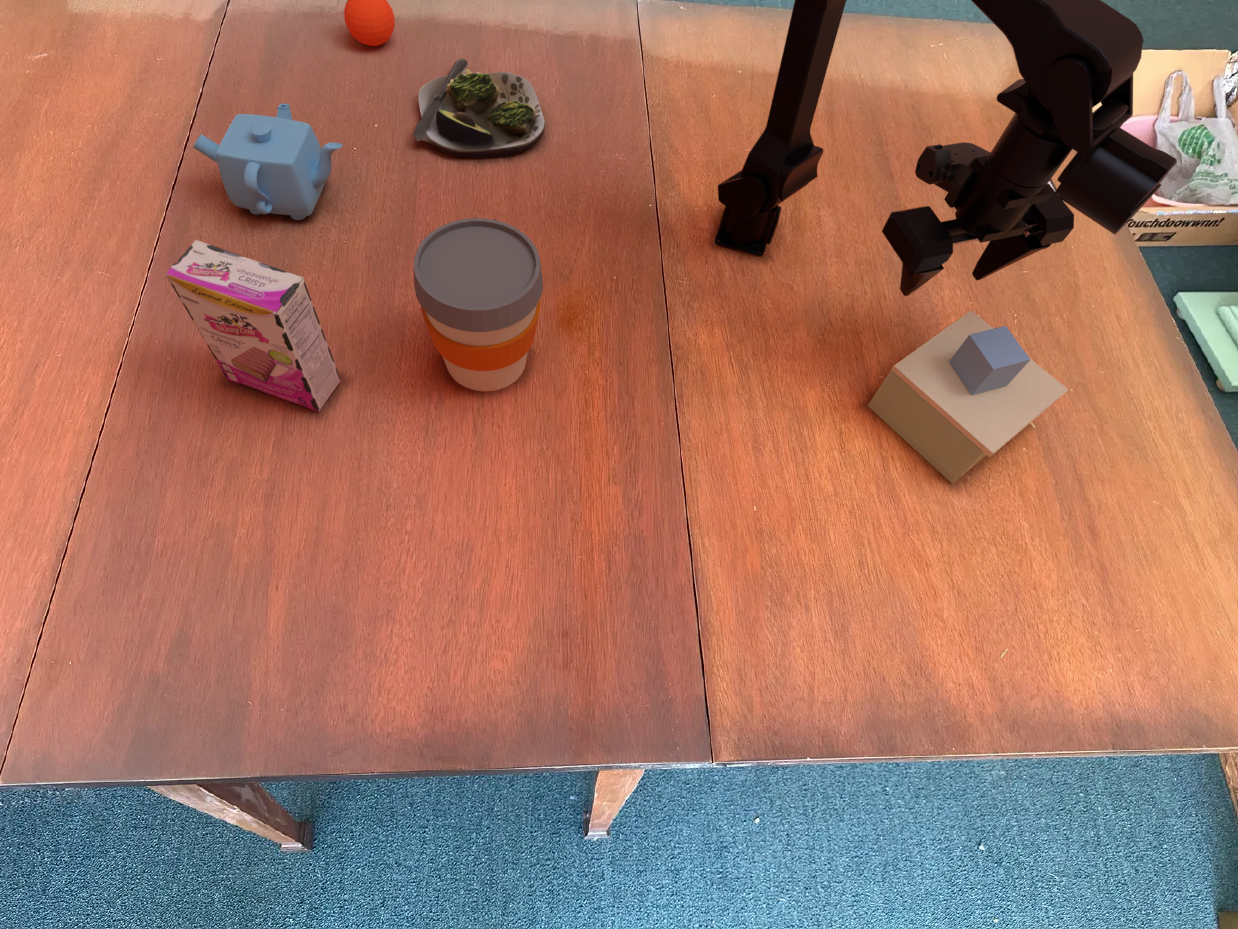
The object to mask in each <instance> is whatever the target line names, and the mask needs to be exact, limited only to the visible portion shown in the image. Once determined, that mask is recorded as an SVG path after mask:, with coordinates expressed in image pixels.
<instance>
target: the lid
mask: <svg viewBox="0 0 1238 929" xmlns="http://www.w3.org/2000/svg"><path fill="white" fill-rule="evenodd" d="M990 329H994V327H993V326H991V325H990V324H989V323H988V322H987V321H985V320H984V319H983V318H982V317H981V316H979V315H978V314H977V313H976V312H975V311H973V310H971V309H970V310H969V311H967V312H966V313H964V314H963V315H962V316H960V317H959V318H958V319H956V320H955V321H954V322H952V323H950V324H949V325H948V326H946V327H945V328H944V329H942V330H941V331H940V332H938V333H937V334H935V335H934V336H933V337H931V338H930V339H928V340H927V341H926V342H925V343H923V344H922V345H920V346H918V347H917V348H915V350H913V351H912V352H911V353H909V354H908V355H906V356H905V357H904V358H902V359H901V360H900V361H898V362H897V363H895V364H894V365H892V367H891V369H890V371H891V370H892V371H893V372H894V373H895V374H896V375H897V376H898V377H900V378H901V379H902V380H903V381H904V382H905V383H906V384H907V385H909V386H910V387H911V388H912V389H913V390H914V391H915V392H916V393H918V394H919V395H920V396H921V397H922V398H923V399H924V400H925V401H927V402H928V403H929V404H930V405H931V406H932V407H933V408H934V409H936V410H937V411H938V412H939V413H940V414H941V415H942V416H943V417H945V418H946V419H947V420H948V421H949V422H950V423H951V424H952V425H954V426H955V427H956V428H957V429H958V430H959V431H960V432H961V433H963V434H964V435H965V436H966V437H967V438H968V439H969V440H970V441H972V442H973V443H974V444H975V445H976V446H977V447H978V448H979V449H981V450H982V451H983V452H984V453H985V454H986V456H987V457H988V458H991V457H992V456H993V455H994V454H995V453H997V452H998V451H999V450H1000V449H1001V448H1003V447H1004V446H1005V445H1006V444H1007V443H1008V442H1009V441H1011V440H1012V439H1013V438H1014V437H1016V436H1017V435H1018V434H1020V433H1021V431H1023V430H1024V429H1025V428H1026V427H1027V426H1028V425H1030V424H1031V423H1032V422H1033V421H1034V420H1036V419H1037V418H1038V417H1039V416H1040V415H1041V414H1043V413H1044V412H1045V411H1046V410H1047V409H1048V408H1050V407H1052V405H1053V404H1055V403H1056V402H1057V401H1058V400H1059V399H1060V398H1061V397H1063V396H1064V395H1065V394H1066V393H1067V392H1068V391H1069V388H1068V387H1066V386H1065V385H1064V384H1063V383H1061V382H1060V381H1059V380H1058V379H1056V377H1054V376H1053V375H1051V374H1050V373H1049V372H1048V371H1047V370H1046V369H1044V368H1043V367H1042V366H1040V365H1039V364H1038V363H1037V362H1035V361H1034V360H1033V359H1032V358H1030V357H1029V358H1030V361H1029V362H1028V363H1027V364H1026V365H1025V367H1024V368H1023V369H1022V370H1021V371H1020V372H1019V373H1018V374H1017V375H1016V377H1015V378H1014V379H1013V380H1012V381H1011V382H1010V383H1009V384H1008V385H1007V386H1005V387H1001V388H998V389H994V390H990V391H986V392H983V393H979V394H975V395H971V394H970V393H969V391H968V390H967V388H966V387H965V385H964V384H963V382H962V381H961V379H960V378H959V376H958V375H957V373H956V372H955V370H954V369H953V367H952V366H951V364H950V363H949V361H950V360H951V358H952V357H953V356H954V354H955V353H956V352H957V350H958V349H959V348H960V346H961V345H962V344H963V342H964V341H965V340H966V338H967V337H968V336H969V335H970V334H974V333H978V332H982V331H986V330H990Z"/></svg>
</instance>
